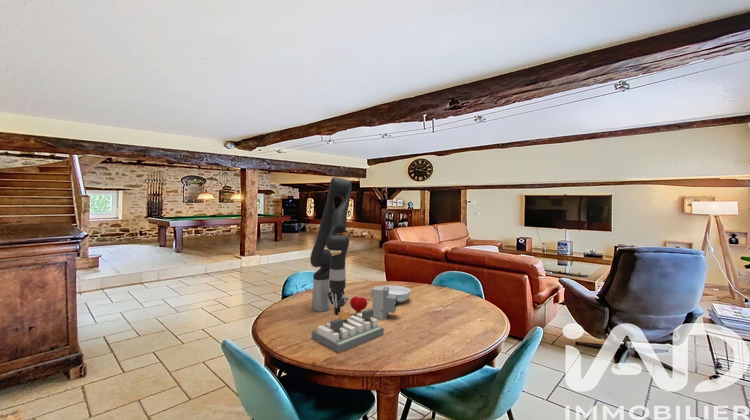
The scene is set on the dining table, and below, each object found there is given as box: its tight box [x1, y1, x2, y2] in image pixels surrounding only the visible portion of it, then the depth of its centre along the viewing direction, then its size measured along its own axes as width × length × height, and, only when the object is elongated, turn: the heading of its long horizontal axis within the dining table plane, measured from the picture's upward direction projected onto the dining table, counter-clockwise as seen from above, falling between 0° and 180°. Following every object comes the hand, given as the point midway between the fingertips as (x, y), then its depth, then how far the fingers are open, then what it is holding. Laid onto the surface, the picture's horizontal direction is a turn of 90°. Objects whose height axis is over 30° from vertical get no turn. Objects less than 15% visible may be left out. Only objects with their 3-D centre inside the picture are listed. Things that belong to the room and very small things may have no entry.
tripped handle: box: [337, 309, 351, 324], centre depth 148 cm, size 2×5×7 cm, turn 135°
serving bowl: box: [384, 285, 412, 303], centre depth 198 cm, size 21×21×7 cm
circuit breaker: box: [370, 285, 400, 320], centre depth 171 cm, size 8×14×15 cm, turn 78°
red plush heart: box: [349, 296, 368, 315], centre depth 171 cm, size 9×7×10 cm
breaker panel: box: [311, 308, 385, 354], centre depth 146 cm, size 19×26×10 cm
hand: (337, 314), depth 151 cm, fingers closed
